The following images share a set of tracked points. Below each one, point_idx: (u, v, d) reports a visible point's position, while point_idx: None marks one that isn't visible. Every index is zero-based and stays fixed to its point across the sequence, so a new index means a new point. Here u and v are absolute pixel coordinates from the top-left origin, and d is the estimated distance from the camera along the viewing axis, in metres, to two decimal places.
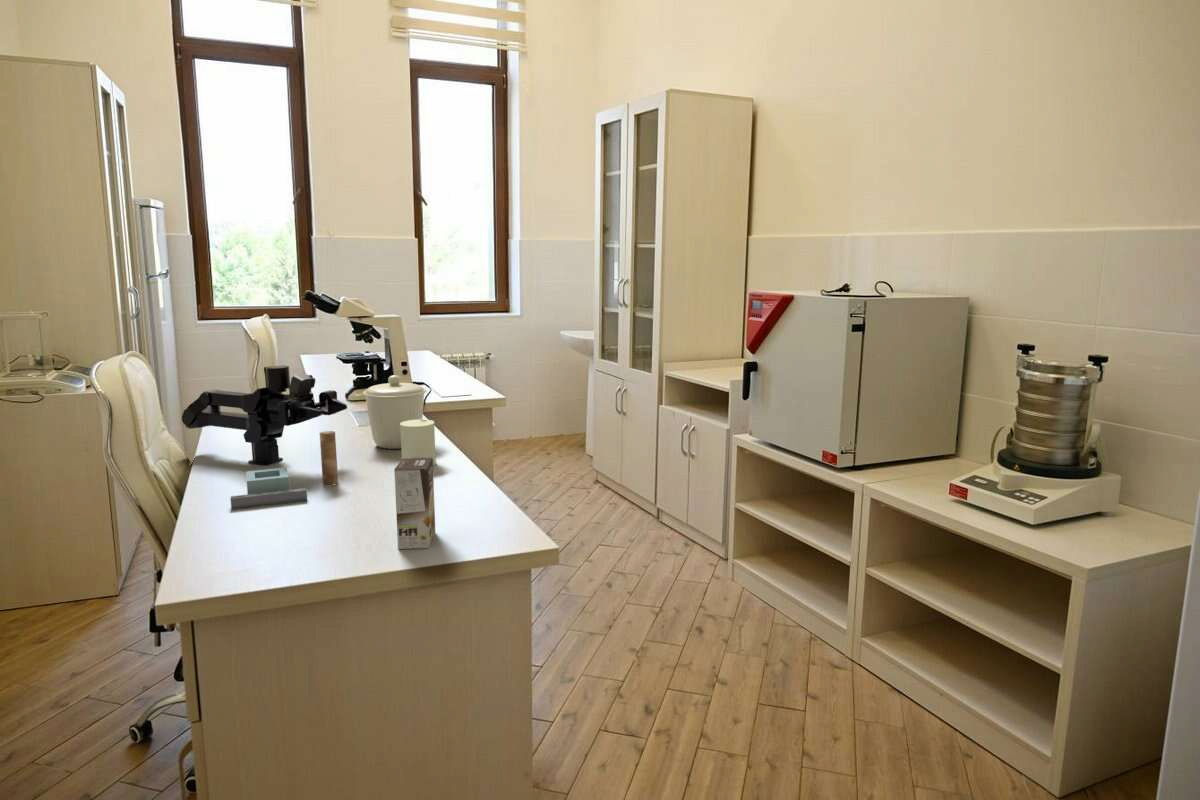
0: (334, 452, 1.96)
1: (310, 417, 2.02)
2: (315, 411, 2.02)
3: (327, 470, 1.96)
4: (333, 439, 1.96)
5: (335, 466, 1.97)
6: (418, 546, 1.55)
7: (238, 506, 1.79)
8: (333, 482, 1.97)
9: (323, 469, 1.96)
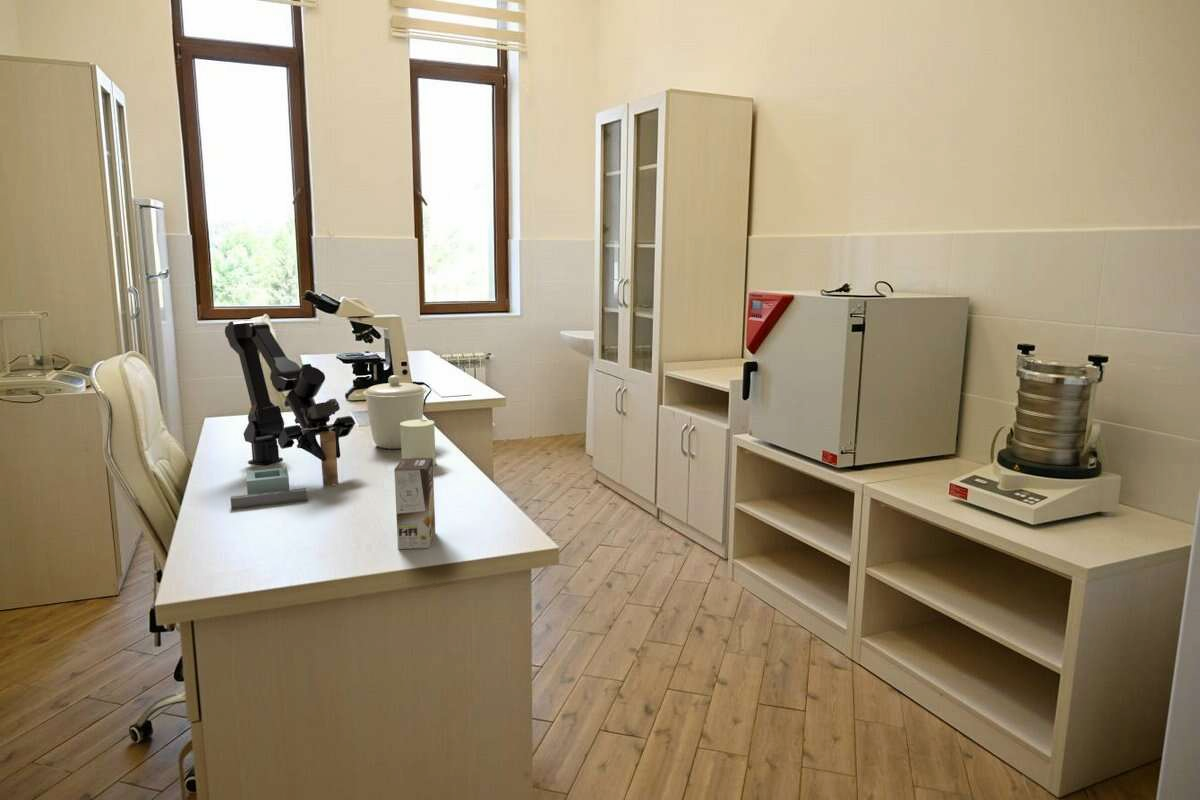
0: (334, 452, 1.96)
1: (314, 454, 1.96)
2: (320, 455, 1.95)
3: (327, 470, 1.96)
4: (333, 439, 1.96)
5: (335, 466, 1.97)
6: (418, 546, 1.55)
7: (238, 506, 1.79)
8: (333, 482, 1.97)
9: (323, 469, 1.96)
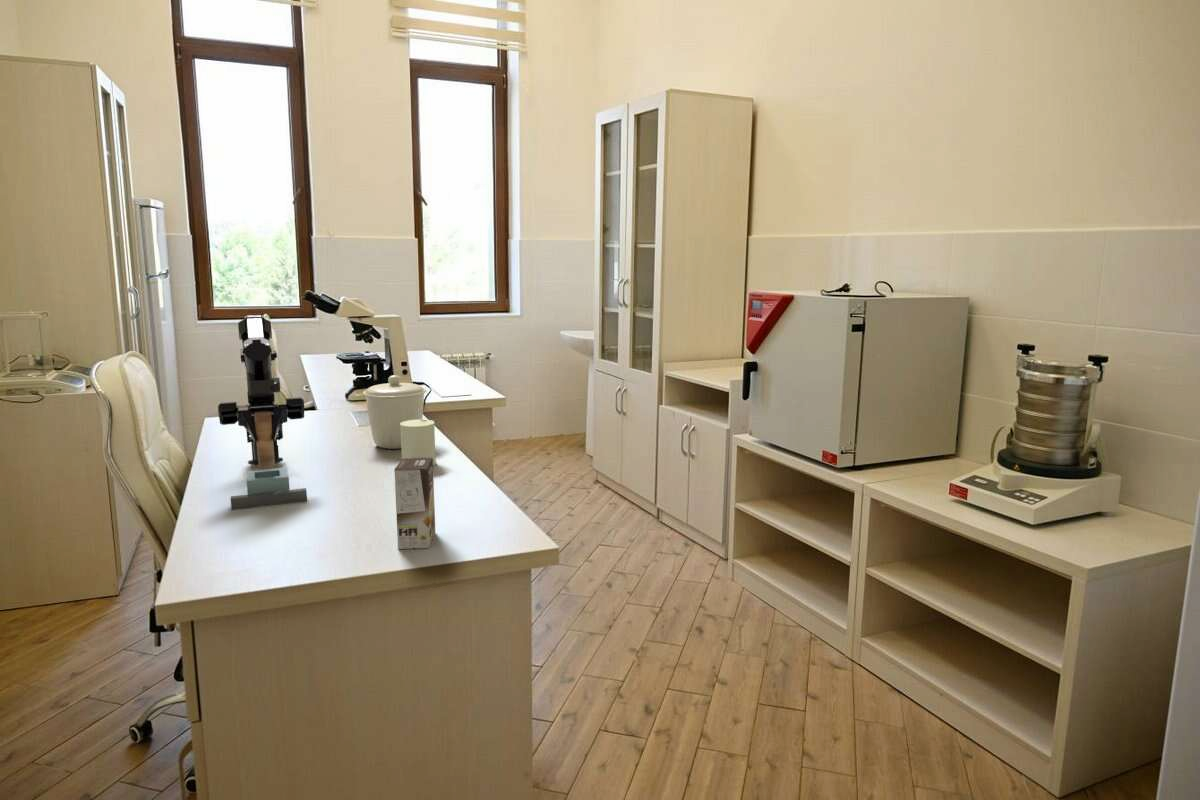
0: (267, 434, 1.86)
1: (250, 434, 1.87)
2: (252, 435, 1.85)
3: (259, 451, 1.86)
4: (265, 420, 1.85)
5: (268, 449, 1.86)
6: (418, 546, 1.55)
7: (238, 506, 1.79)
8: (265, 465, 1.87)
9: (257, 450, 1.87)
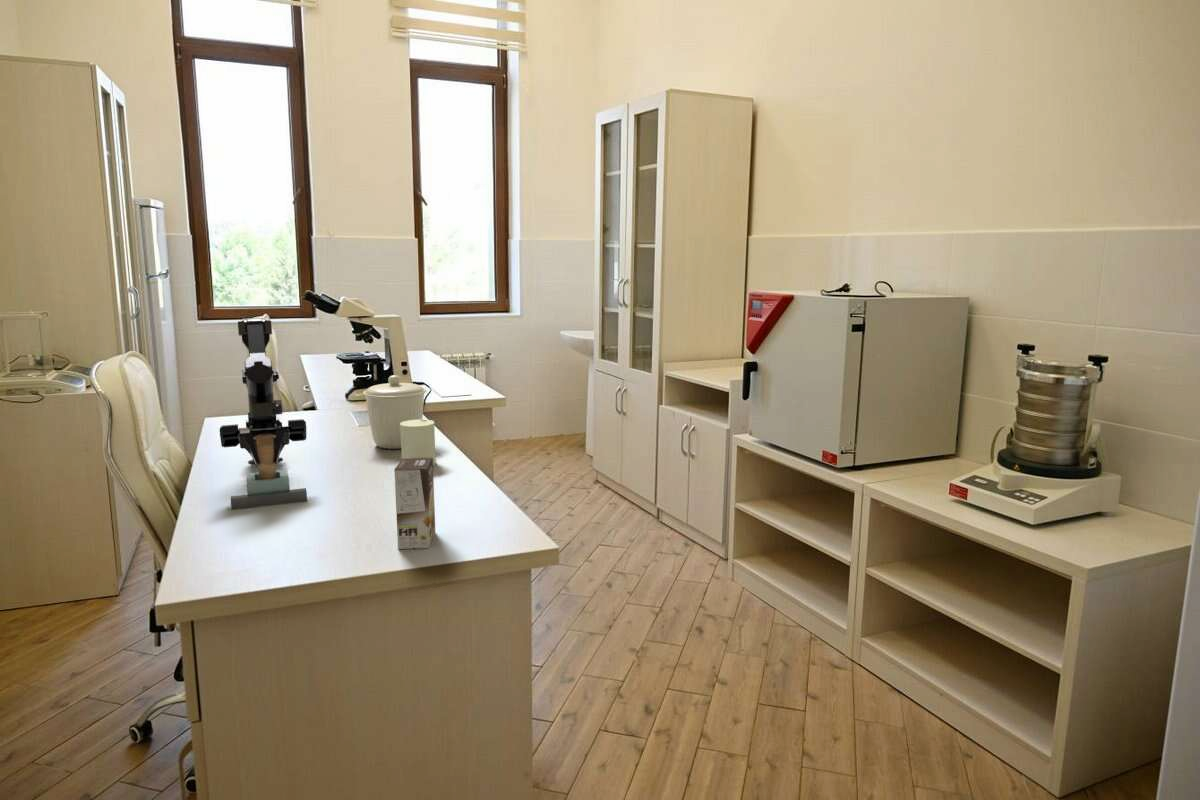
0: (268, 457, 1.84)
1: (252, 457, 1.85)
2: (254, 458, 1.84)
3: (261, 474, 1.85)
4: (267, 443, 1.83)
5: (270, 472, 1.85)
6: (418, 546, 1.55)
7: (238, 506, 1.79)
8: None
9: (259, 473, 1.85)
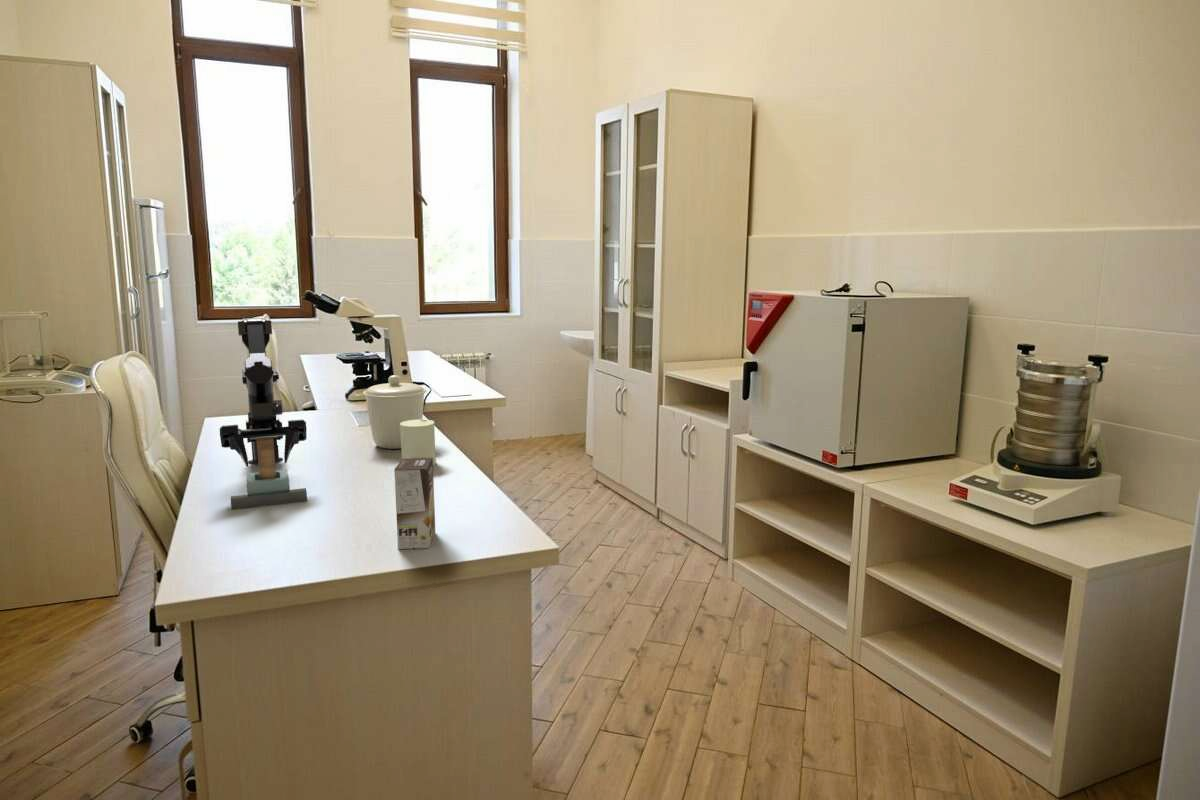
0: (269, 461, 1.84)
1: (242, 458, 1.85)
2: (244, 459, 1.83)
3: (261, 478, 1.85)
4: (268, 447, 1.83)
5: (270, 476, 1.85)
6: (418, 546, 1.55)
7: (238, 506, 1.79)
8: None
9: (259, 477, 1.86)
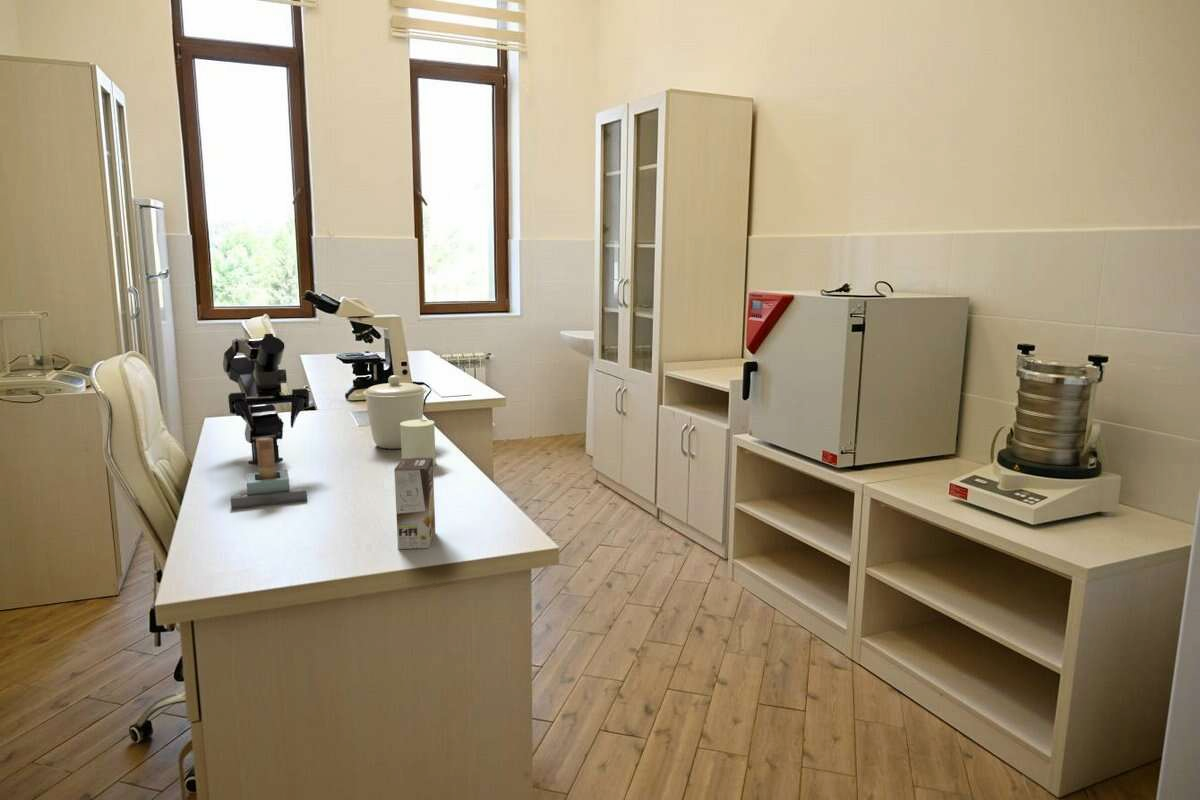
0: (269, 461, 1.85)
1: (247, 423, 1.98)
2: (248, 424, 1.96)
3: (261, 478, 1.85)
4: (267, 447, 1.84)
5: (270, 475, 1.85)
6: (418, 546, 1.55)
7: (238, 506, 1.79)
8: None
9: (259, 477, 1.86)
